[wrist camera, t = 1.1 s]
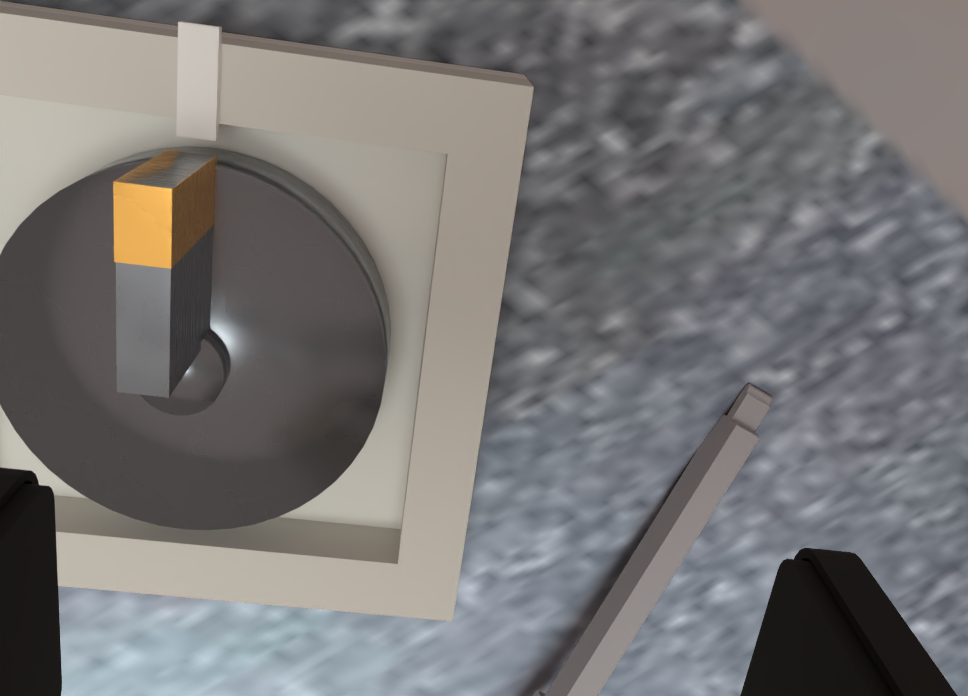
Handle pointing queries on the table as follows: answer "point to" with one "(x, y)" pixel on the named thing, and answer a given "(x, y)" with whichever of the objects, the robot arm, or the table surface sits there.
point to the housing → (377, 220)
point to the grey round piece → (192, 338)
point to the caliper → (663, 548)
